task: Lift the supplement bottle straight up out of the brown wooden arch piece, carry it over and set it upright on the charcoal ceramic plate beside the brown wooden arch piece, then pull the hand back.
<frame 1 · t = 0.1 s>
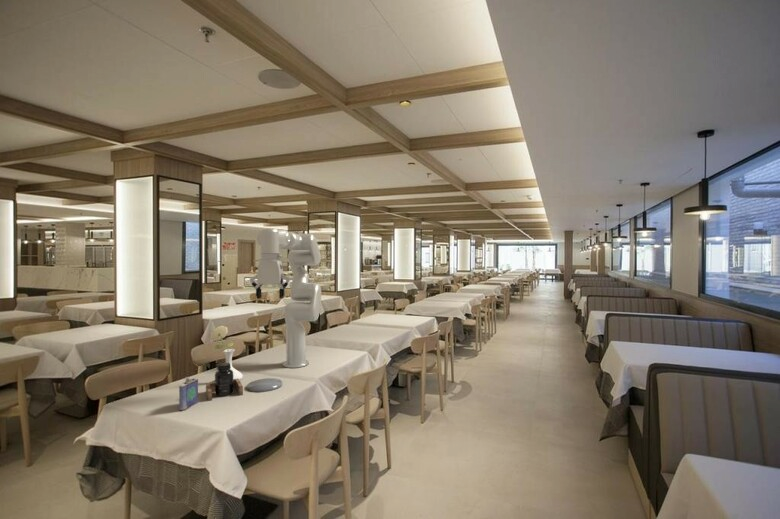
hand: (270, 298, 164), 37 cm above the table, tool pointing down, fingers open, 9 cm apart
flask: (188, 406, 142), on the table
flower in vase: (227, 382, 170), on the table
plate: (264, 386, 164), on the table
brown wooden arch piece: (224, 393, 155), on the table
supplement bottle: (224, 394, 155), on the table
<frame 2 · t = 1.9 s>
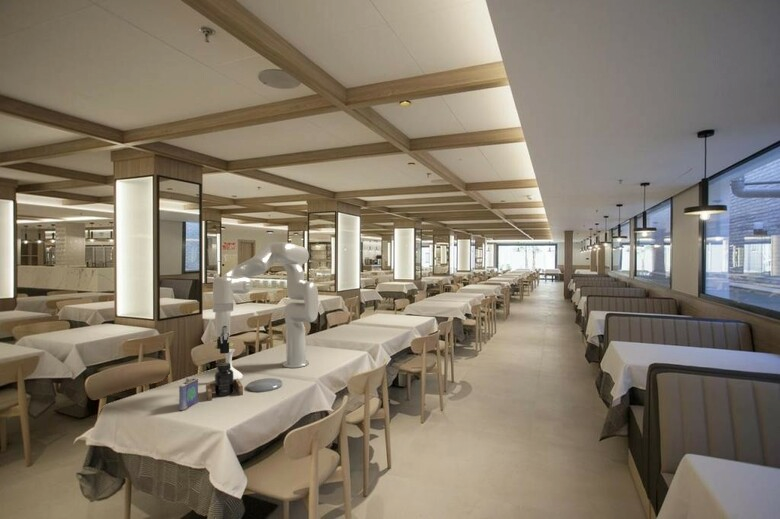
hand: (223, 350, 154), 17 cm above the table, tool pointing down, fingers open, 9 cm apart
nothing on the table moved.
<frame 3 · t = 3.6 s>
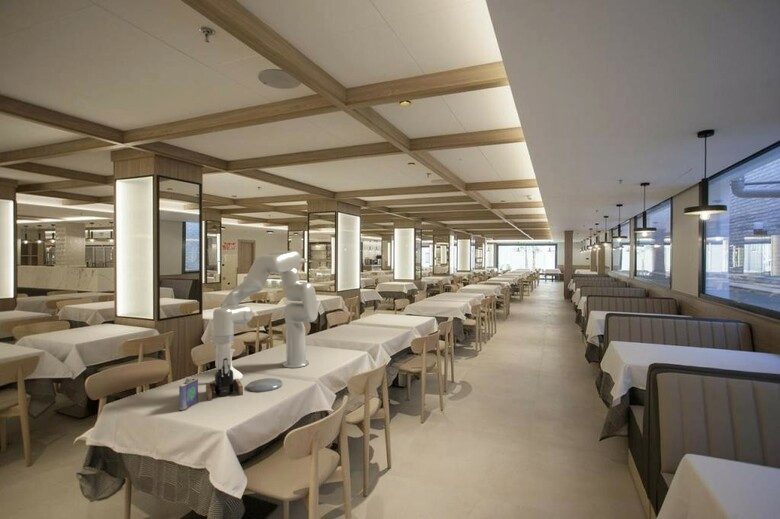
hand: (224, 383, 155), 4 cm above the table, tool pointing down, fingers closed on supplement bottle, 6 cm apart
supplement bottle: (224, 394, 155), on the table, touching gripper
everything else where it was.
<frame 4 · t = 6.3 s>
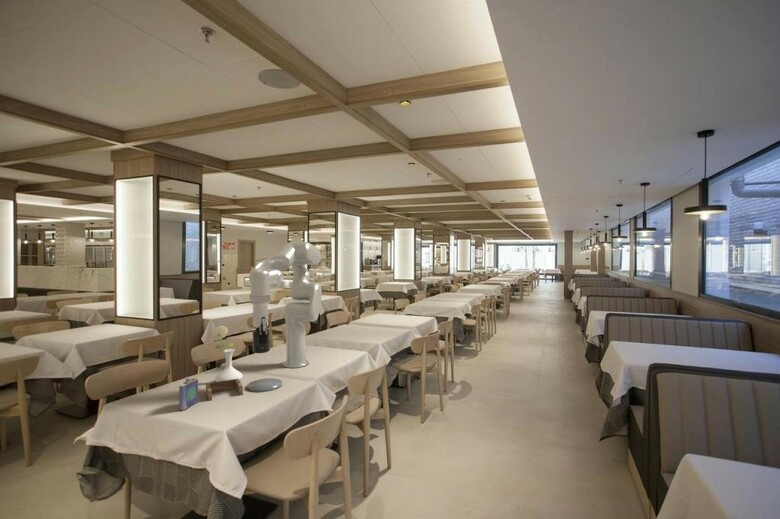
hand: (261, 341, 163), 19 cm above the table, tool pointing down, fingers closed on supplement bottle, 6 cm apart
supplement bottle: (261, 351, 163), point 15 cm above the table, touching gripper
everything else where it was.
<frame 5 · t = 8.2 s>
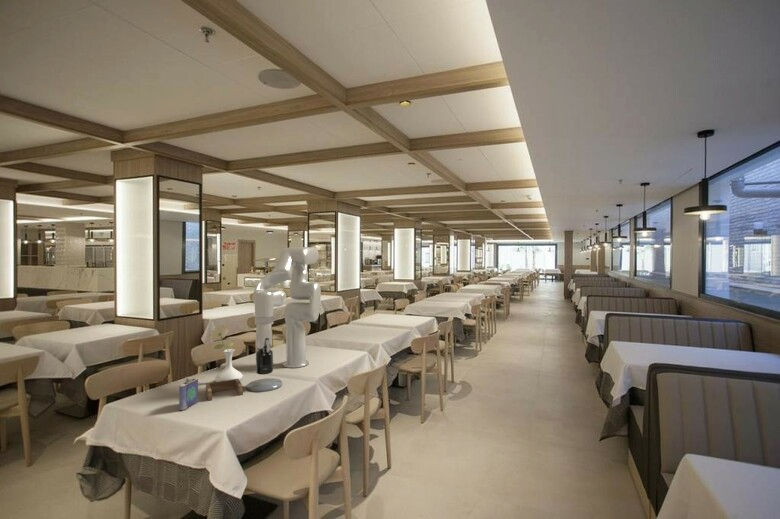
hand: (264, 362, 164), 10 cm above the table, tool pointing down, fingers closed on supplement bottle, 6 cm apart
supplement bottle: (264, 372, 164), point 6 cm above the table, touching gripper
everything else where it was.
when the fingers open (7 cm above the table, at t = 9.4 s): supplement bottle drops 1 cm, resting on plate.
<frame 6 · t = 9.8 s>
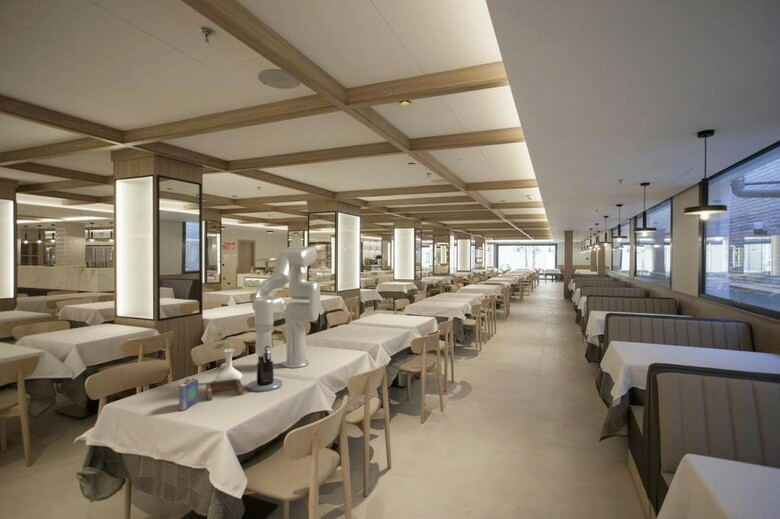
hand: (264, 368, 164), 8 cm above the table, tool pointing down, fingers open, 9 cm apart
supplement bottle: (265, 383, 164), point 1 cm above the table, touching plate
everything else where it was.
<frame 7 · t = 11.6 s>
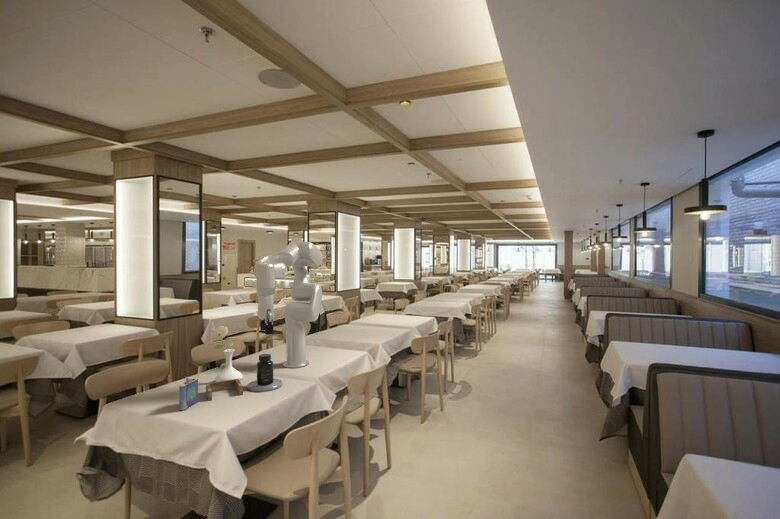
hand: (266, 332, 165), 23 cm above the table, tool pointing down, fingers open, 9 cm apart
nothing on the table moved.
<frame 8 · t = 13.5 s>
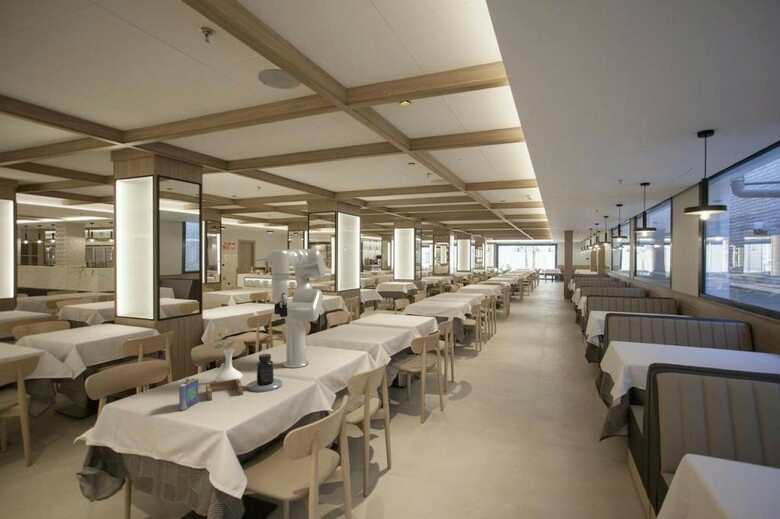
hand: (280, 315, 175), 28 cm above the table, tool pointing down, fingers open, 9 cm apart
nothing on the table moved.
at the end: supplement bottle inside the target area on the plate (0.3 cm from its centre), point 1.0 cm above the plate's base; supplement bottle tilted 0°; the gripper is holding nothing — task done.
